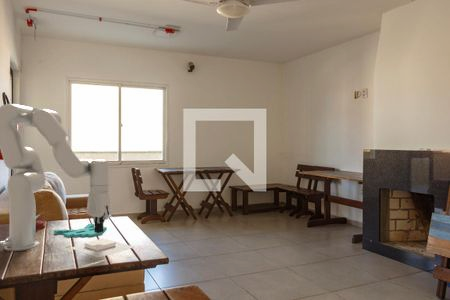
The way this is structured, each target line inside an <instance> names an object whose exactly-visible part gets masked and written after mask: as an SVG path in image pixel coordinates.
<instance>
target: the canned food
mask: <svg viewBox="0 0 450 300" xmlns="http://www.w3.org/2000/svg"><path fill="white" fill-rule="evenodd" d="M43 213H44V211H42V212H41V213H39V214H38V215H36V230H43V229H45V228H46V227H47V226H46V220H42V219H37V218H38V217H40V216H41V215H42V214H43Z"/></svg>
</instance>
